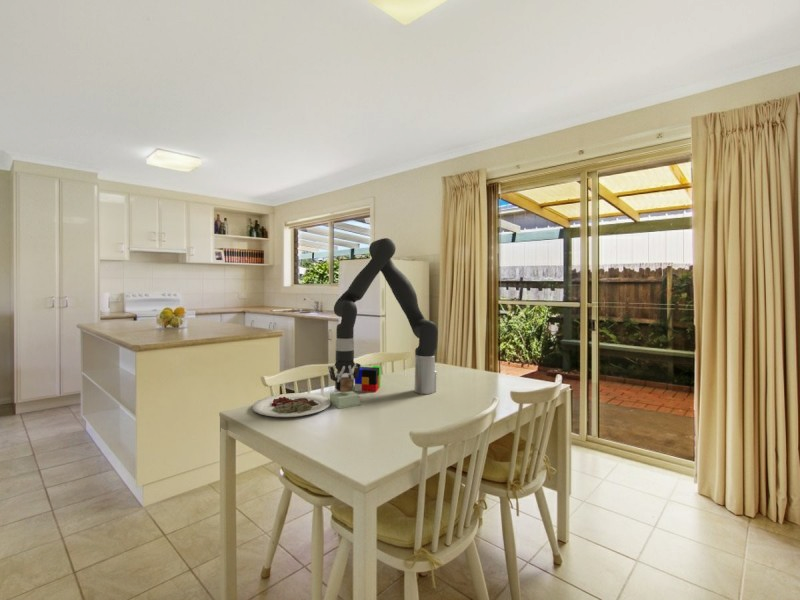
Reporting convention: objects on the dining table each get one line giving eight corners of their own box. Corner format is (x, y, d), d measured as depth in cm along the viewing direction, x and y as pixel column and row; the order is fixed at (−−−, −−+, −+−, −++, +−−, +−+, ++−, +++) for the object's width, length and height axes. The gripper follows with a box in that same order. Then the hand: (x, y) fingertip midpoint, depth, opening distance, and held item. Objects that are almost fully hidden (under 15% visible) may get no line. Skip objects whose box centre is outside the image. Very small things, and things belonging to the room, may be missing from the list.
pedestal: (349, 398, 176) (349, 389, 176) (360, 404, 168) (360, 395, 168) (328, 402, 171) (328, 392, 170) (338, 408, 162) (338, 398, 162)
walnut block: (347, 388, 172) (347, 376, 172) (352, 391, 168) (352, 379, 168) (336, 389, 170) (336, 378, 169) (341, 392, 165) (341, 380, 165)
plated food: (312, 424, 145) (312, 414, 145) (236, 417, 151) (236, 408, 151) (340, 400, 175) (340, 392, 175) (276, 395, 181) (276, 387, 181)
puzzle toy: (354, 390, 189) (354, 369, 189) (360, 385, 199) (360, 365, 199) (375, 392, 188) (376, 370, 187) (380, 386, 198) (380, 366, 197)
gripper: (356, 346, 175) (355, 385, 176) (324, 348, 167) (324, 389, 168) (364, 348, 169) (364, 389, 170) (332, 351, 161) (332, 394, 162)
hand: (344, 389), depth 169 cm, fingers closed on walnut block, 5 cm apart
